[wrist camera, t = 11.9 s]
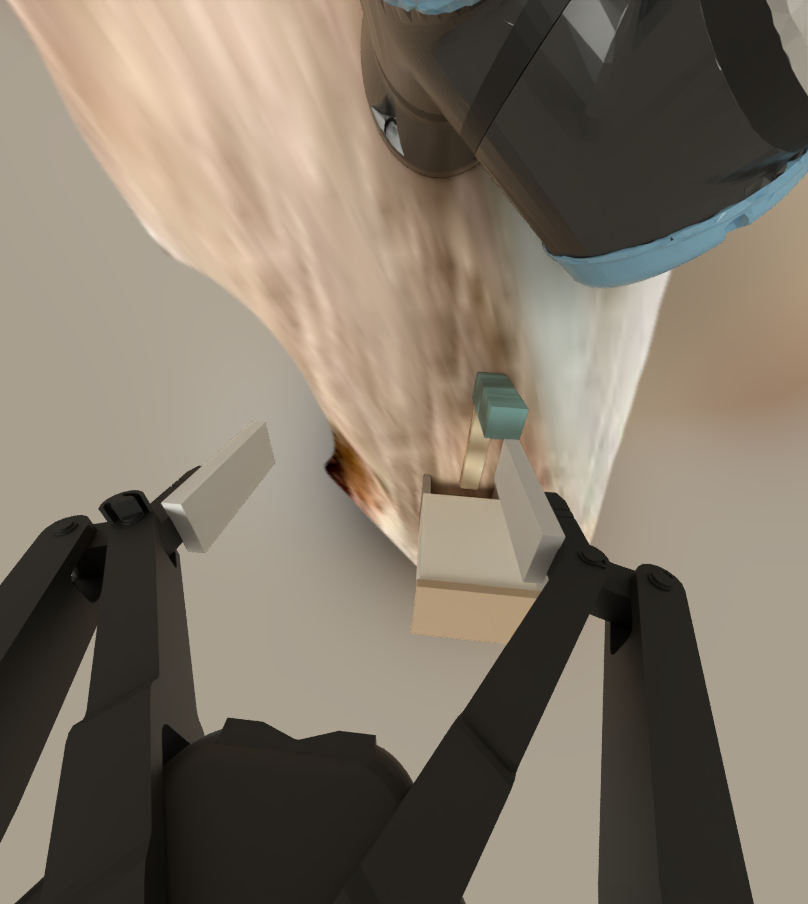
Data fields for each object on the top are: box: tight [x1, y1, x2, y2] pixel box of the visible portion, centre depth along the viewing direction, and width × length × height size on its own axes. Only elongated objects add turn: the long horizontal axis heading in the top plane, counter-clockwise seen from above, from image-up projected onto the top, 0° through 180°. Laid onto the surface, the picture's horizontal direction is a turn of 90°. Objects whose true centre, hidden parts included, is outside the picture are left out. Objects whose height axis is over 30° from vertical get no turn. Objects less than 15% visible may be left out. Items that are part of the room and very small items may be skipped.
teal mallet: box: [460, 372, 529, 490], centre depth 43 cm, size 20×4×12 cm, turn 177°
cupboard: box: [411, 475, 541, 644], centre depth 46 cm, size 11×15×22 cm
